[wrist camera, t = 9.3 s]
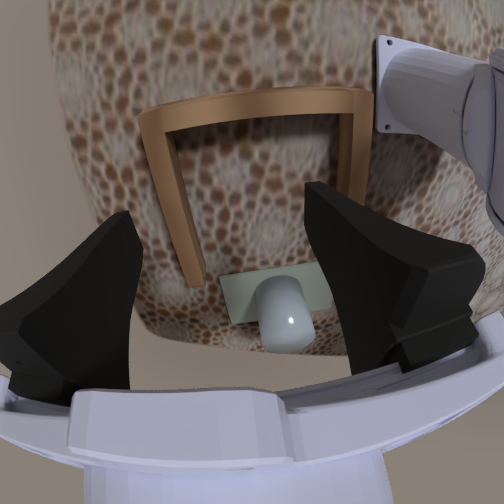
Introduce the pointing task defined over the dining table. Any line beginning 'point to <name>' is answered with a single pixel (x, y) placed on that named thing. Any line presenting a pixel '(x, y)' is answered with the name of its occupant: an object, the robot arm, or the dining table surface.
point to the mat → (244, 284)
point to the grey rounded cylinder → (283, 315)
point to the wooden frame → (243, 107)
